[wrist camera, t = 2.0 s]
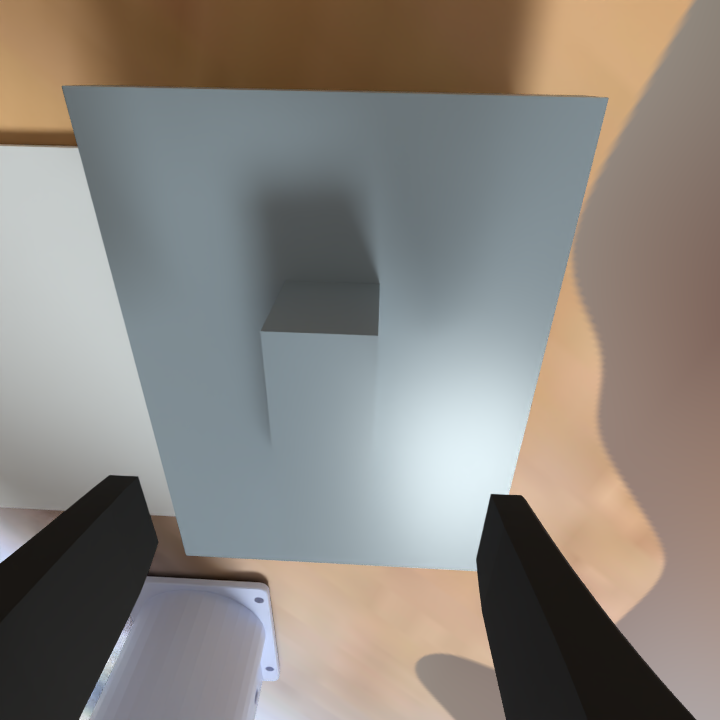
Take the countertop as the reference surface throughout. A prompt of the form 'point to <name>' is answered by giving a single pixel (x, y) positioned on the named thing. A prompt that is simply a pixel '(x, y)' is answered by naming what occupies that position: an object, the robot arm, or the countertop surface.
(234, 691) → the robot arm
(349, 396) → the lid
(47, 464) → the mat
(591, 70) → the countertop surface
